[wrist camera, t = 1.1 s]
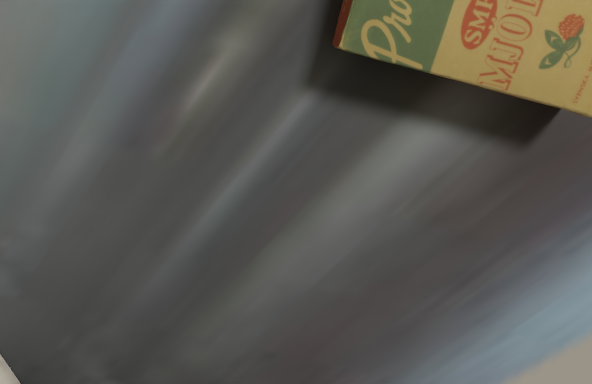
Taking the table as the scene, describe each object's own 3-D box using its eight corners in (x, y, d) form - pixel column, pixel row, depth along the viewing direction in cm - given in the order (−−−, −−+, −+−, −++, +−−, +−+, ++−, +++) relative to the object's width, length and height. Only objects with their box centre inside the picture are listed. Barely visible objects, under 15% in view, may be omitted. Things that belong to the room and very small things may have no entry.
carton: (559, 108, 34) (596, 122, 30) (328, 46, 32) (333, 52, 28) (617, -23, 31) (665, -27, 27) (366, -97, 29) (378, -114, 25)
